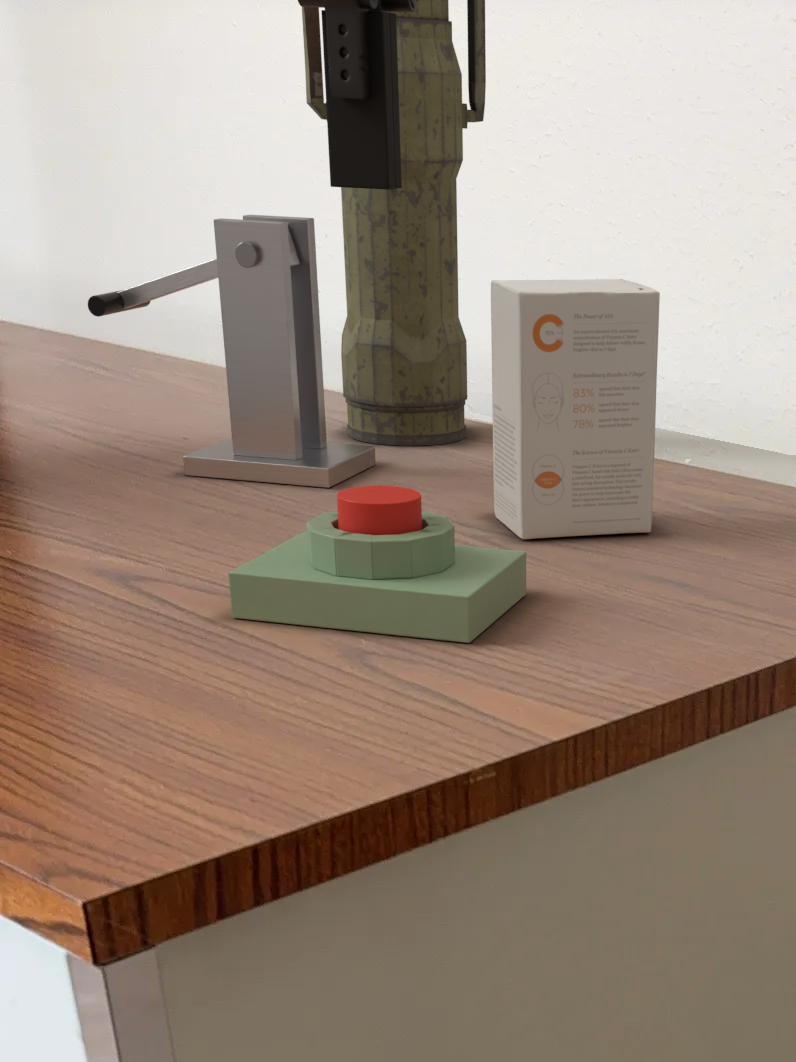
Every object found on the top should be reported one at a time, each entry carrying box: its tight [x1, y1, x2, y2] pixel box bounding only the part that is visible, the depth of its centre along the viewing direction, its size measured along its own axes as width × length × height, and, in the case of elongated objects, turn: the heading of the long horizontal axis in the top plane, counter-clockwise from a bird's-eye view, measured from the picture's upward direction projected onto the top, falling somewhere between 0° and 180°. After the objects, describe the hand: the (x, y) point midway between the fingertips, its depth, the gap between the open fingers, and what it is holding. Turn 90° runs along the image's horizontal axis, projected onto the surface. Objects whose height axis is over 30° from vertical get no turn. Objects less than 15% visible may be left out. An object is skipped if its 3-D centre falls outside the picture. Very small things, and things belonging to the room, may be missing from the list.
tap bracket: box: [182, 214, 377, 489], centre depth 105 cm, size 10×8×15 cm
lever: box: [87, 229, 300, 318], centre depth 103 cm, size 13×6×2 cm, turn 76°
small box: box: [490, 278, 661, 540], centre depth 94 cm, size 8×6×13 cm
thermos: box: [301, 0, 487, 447], centre depth 111 cm, size 9×12×35 cm
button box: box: [227, 510, 527, 644], centre depth 80 cm, size 12×9×4 cm
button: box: [336, 485, 423, 535], centre depth 79 cm, size 4×4×2 cm
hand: (366, 186), depth 72 cm, fingers closed
